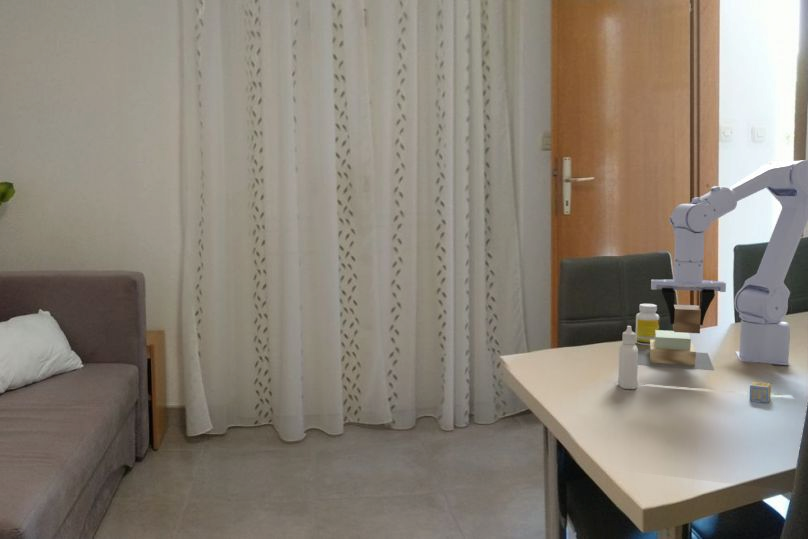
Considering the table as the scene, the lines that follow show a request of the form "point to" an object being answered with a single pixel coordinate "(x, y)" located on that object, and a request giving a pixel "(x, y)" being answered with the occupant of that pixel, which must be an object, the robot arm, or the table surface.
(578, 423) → the table surface
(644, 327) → the supplement bottle
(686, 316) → the walnut cube
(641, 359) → the mat
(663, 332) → the tower top
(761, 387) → the alphabet block
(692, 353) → the tower base
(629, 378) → the eye dropper bottle
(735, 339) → the table surface
